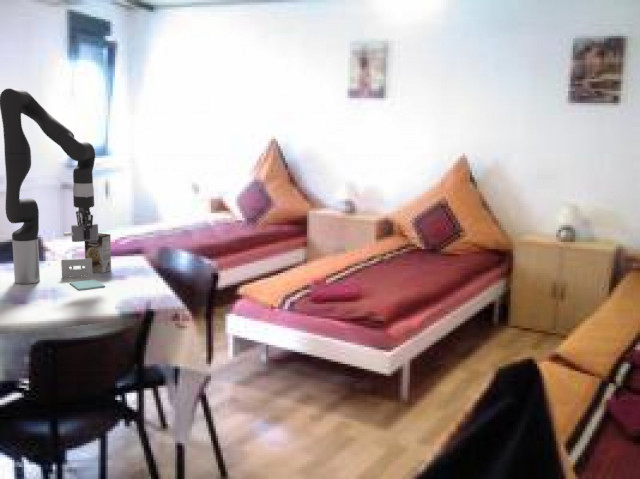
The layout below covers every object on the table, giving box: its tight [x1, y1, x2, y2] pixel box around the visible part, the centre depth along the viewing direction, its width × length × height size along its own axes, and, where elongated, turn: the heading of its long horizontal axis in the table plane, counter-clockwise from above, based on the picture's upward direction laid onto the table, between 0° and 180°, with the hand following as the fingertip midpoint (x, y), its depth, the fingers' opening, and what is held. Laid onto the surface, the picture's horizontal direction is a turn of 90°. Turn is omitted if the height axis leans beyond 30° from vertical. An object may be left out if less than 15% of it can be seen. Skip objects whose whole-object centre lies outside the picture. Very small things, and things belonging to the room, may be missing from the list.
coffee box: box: [84, 232, 112, 274], centre depth 283 cm, size 9×6×16 cm
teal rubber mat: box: [69, 278, 106, 291], centre depth 259 cm, size 12×10×1 cm
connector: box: [63, 223, 99, 243], centre depth 254 cm, size 4×13×6 cm, turn 127°
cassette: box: [60, 258, 94, 279], centre depth 271 cm, size 12×2×8 cm, turn 109°
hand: (85, 238), depth 256 cm, fingers closed on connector, 4 cm apart
